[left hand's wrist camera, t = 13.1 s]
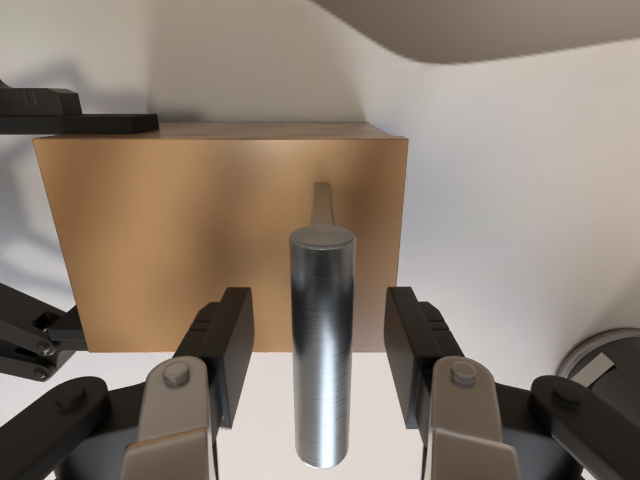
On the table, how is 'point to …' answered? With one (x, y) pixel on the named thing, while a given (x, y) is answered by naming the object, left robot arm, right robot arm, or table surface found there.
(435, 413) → the left robot arm
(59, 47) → the table surface
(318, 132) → the chest
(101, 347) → the wooden door panel
